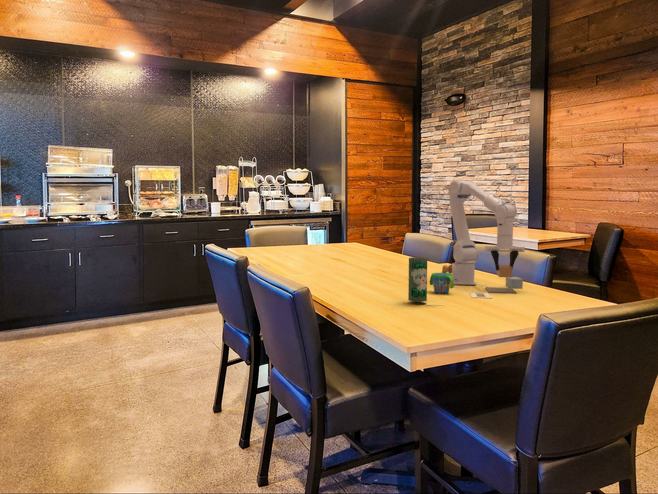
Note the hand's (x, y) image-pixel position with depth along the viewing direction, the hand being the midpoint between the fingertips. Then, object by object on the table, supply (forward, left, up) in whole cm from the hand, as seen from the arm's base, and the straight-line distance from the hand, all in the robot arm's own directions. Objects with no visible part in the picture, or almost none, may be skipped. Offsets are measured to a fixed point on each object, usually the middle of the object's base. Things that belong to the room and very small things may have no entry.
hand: (503, 270), depth 193 cm
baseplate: (-1, 0, -8) cm, 8 cm away
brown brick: (0, 0, -2) cm, 2 cm away
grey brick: (+6, +11, -9) cm, 15 cm away
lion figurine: (-19, +38, -9) cm, 43 cm away
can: (-33, -25, -9) cm, 42 cm away
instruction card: (-10, -12, -8) cm, 18 cm away
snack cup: (-24, -8, -9) cm, 27 cm away
